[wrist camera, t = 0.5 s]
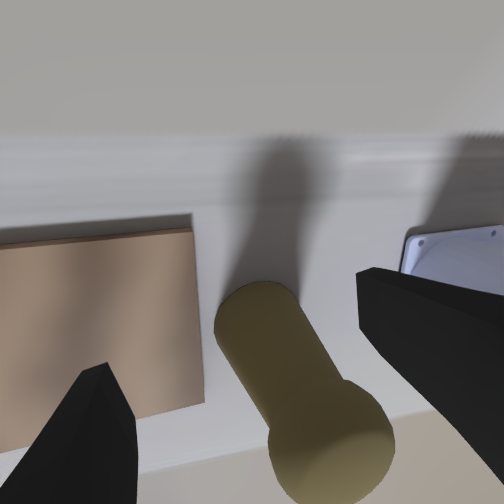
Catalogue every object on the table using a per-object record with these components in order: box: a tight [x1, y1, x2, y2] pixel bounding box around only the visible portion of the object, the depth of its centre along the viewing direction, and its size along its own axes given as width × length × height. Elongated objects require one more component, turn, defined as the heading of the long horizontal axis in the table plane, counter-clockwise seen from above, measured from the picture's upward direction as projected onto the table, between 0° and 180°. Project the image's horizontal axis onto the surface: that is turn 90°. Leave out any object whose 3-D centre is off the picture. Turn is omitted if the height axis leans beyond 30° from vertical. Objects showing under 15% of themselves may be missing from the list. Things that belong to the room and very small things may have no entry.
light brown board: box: [0, 227, 205, 453], centre depth 18 cm, size 12×12×1 cm
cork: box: [214, 281, 395, 504], centre depth 17 cm, size 6×6×11 cm
